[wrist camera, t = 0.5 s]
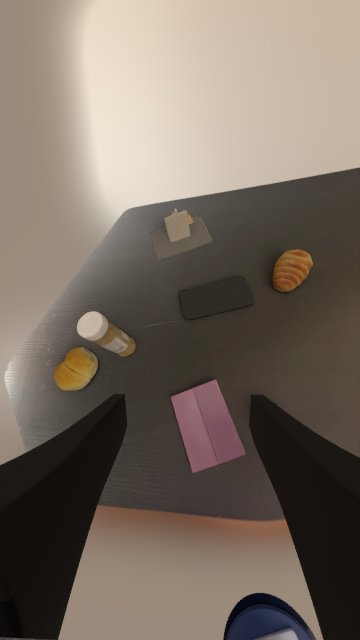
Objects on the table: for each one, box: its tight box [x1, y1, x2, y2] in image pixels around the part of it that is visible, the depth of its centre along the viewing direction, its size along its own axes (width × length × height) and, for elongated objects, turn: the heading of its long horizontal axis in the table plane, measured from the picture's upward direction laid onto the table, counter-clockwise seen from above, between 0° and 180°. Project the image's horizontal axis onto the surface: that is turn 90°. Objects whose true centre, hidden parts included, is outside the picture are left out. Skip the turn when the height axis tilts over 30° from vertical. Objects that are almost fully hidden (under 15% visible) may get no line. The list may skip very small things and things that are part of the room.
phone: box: [180, 277, 253, 320], centre depth 43 cm, size 7×1×15 cm
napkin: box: [171, 380, 246, 473], centre depth 33 cm, size 12×9×1 cm
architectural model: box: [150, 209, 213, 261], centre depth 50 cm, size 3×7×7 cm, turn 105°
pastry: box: [273, 250, 313, 292], centre depth 41 cm, size 9×7×4 cm
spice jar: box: [77, 311, 135, 357], centre depth 37 cm, size 5×5×14 cm
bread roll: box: [54, 347, 98, 391], centre depth 41 cm, size 8×9×4 cm
